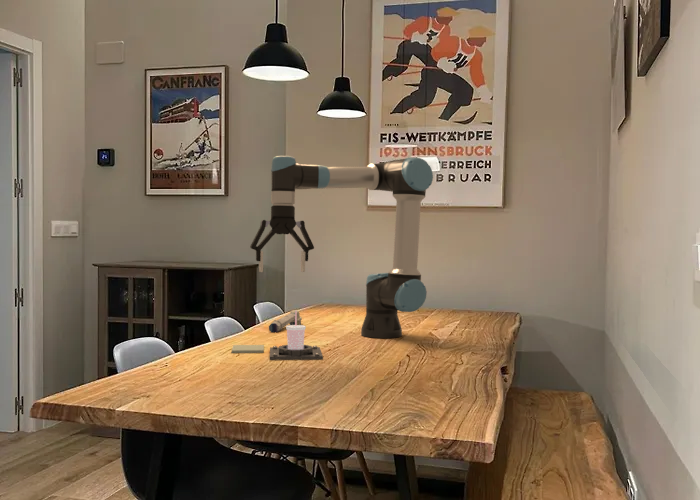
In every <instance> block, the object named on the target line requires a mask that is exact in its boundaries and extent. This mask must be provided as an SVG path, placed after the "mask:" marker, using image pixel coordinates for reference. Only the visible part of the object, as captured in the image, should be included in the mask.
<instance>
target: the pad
mask: <svg viewBox="0 0 700 500" xmlns="http://www.w3.org/2000/svg"><path fill="white" fill-rule="evenodd" d="M264 351H265V344H233V345H232V348H231V354H263V353H264Z"/></svg>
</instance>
